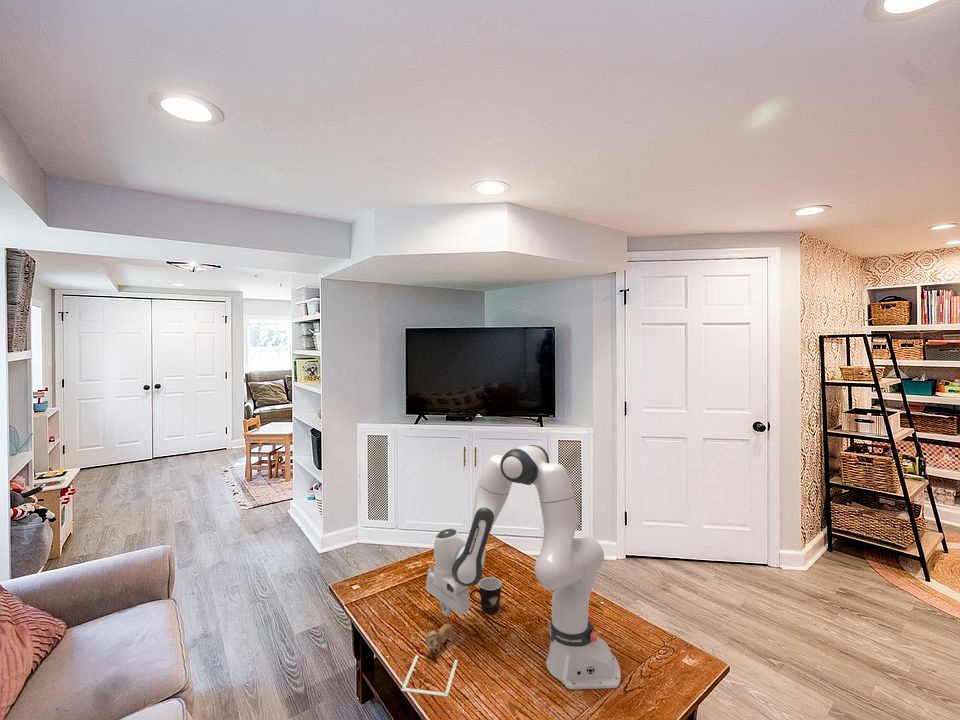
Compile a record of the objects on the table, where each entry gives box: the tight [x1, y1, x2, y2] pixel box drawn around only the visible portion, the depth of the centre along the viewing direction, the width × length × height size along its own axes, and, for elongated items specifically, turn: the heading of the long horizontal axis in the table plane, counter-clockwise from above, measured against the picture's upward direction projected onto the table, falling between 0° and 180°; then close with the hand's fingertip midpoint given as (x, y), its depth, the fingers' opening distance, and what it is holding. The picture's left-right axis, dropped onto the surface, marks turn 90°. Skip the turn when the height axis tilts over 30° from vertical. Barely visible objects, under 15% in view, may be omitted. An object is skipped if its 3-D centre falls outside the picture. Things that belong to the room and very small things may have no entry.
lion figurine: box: [425, 623, 457, 657], centre depth 149 cm, size 15×5×9 cm, turn 151°
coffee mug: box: [469, 576, 502, 615], centre depth 170 cm, size 12×9×10 cm
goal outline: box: [400, 654, 459, 697], centre depth 138 cm, size 14×14×1 cm
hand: (446, 613), depth 159 cm, fingers closed
